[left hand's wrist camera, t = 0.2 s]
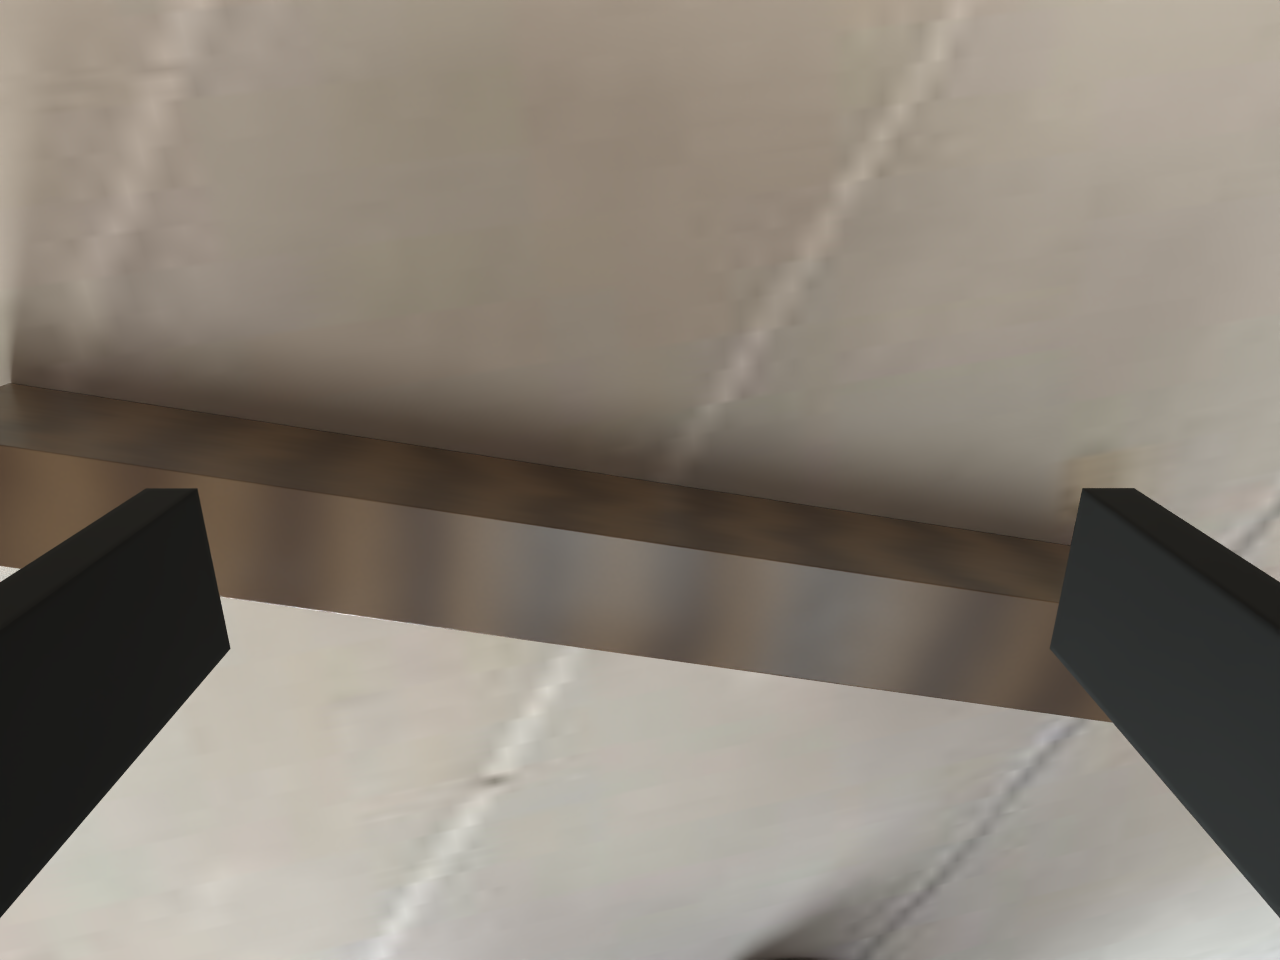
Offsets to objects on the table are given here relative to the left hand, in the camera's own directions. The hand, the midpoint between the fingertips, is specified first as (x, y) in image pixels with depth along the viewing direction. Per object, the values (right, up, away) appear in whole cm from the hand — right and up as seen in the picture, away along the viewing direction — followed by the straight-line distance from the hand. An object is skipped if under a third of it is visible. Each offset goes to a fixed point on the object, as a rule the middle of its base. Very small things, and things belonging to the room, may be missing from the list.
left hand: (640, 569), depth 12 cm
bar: (-4, -1, +30) cm, 30 cm away
